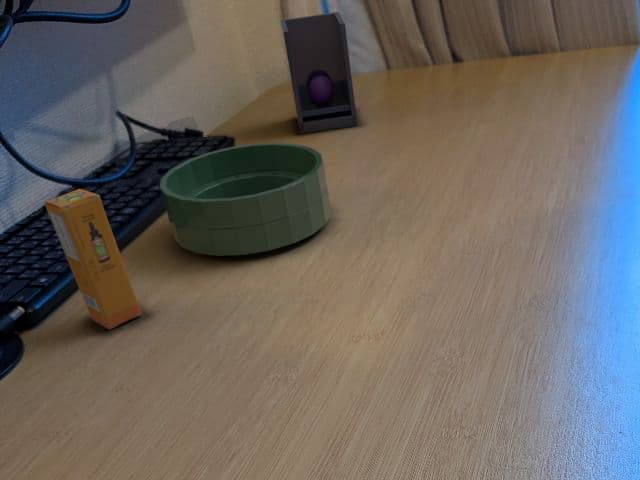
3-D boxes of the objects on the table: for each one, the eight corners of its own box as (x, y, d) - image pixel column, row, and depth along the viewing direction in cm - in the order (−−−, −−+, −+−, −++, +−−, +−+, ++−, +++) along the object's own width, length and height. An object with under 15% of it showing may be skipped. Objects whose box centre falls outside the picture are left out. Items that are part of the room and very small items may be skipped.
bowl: (180, 212, 85) (164, 157, 82) (324, 189, 86) (315, 134, 83) (173, 272, 74) (154, 211, 70) (338, 246, 75) (329, 184, 71)
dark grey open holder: (296, 118, 107) (280, 20, 99) (351, 109, 107) (338, 11, 100) (300, 134, 102) (283, 31, 94) (357, 125, 102) (345, 23, 95)
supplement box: (123, 304, 70) (81, 185, 64) (143, 316, 68) (102, 193, 62) (88, 319, 69) (41, 198, 62) (107, 332, 67) (61, 208, 60)
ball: (310, 102, 105) (305, 74, 103) (334, 98, 106) (330, 71, 103) (311, 109, 103) (307, 81, 101) (337, 105, 103) (333, 77, 101)
